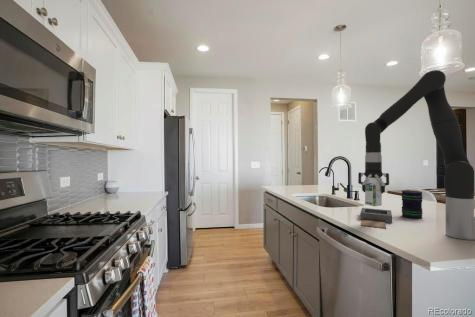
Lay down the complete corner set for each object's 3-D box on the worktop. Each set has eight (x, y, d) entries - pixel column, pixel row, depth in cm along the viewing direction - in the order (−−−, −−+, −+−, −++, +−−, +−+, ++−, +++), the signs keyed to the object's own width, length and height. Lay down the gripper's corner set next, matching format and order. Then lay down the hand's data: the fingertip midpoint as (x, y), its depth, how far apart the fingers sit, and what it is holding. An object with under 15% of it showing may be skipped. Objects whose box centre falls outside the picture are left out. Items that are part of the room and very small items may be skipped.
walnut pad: (385, 223, 127) (385, 222, 127) (386, 228, 117) (386, 227, 117) (362, 220, 132) (362, 219, 132) (360, 225, 123) (360, 224, 123)
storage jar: (415, 215, 144) (415, 190, 144) (426, 219, 135) (426, 192, 135) (398, 214, 145) (397, 190, 145) (407, 219, 136) (407, 192, 136)
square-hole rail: (391, 217, 140) (390, 210, 140) (392, 223, 127) (392, 215, 127) (362, 214, 147) (362, 207, 147) (360, 219, 135) (360, 212, 135)
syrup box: (364, 204, 126) (364, 177, 126) (371, 203, 129) (371, 176, 129) (374, 206, 121) (374, 178, 121) (382, 205, 124) (382, 177, 123)
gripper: (357, 161, 125) (357, 192, 125) (389, 161, 118) (389, 194, 118) (358, 161, 132) (358, 190, 132) (389, 161, 124) (389, 192, 124)
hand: (373, 192), depth 125 cm, fingers closed on syrup box, 7 cm apart
